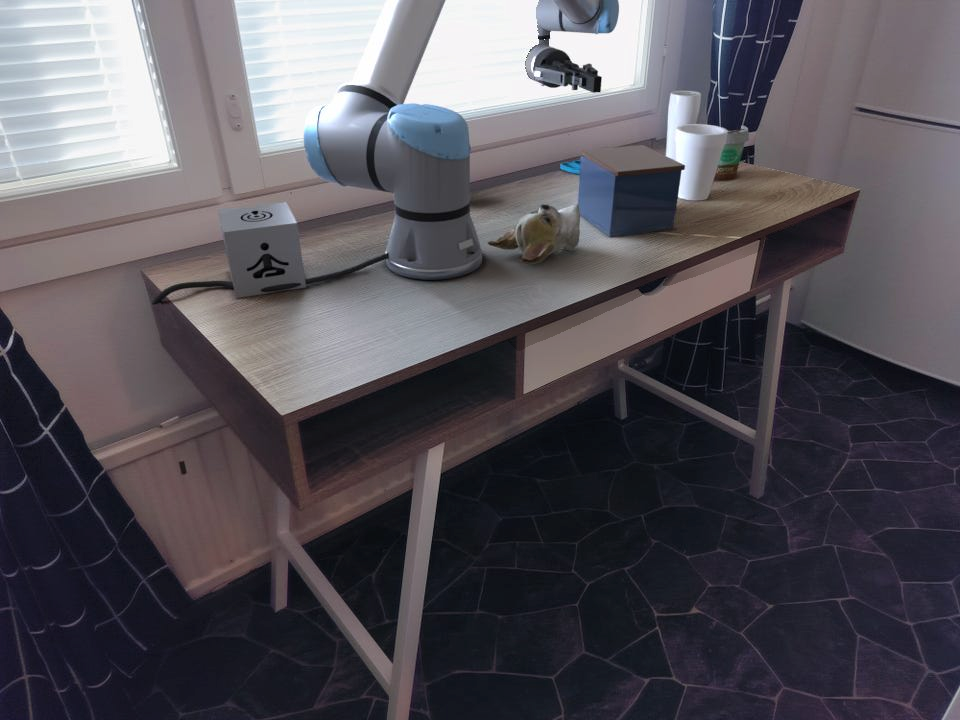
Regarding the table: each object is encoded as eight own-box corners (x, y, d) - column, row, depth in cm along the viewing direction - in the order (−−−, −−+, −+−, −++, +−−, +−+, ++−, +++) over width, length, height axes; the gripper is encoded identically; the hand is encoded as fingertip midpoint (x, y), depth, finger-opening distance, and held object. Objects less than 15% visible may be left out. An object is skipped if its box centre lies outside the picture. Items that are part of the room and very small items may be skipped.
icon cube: (229, 272, 111) (217, 210, 106) (294, 263, 114) (286, 202, 109) (236, 298, 103) (223, 232, 98) (306, 287, 106) (297, 222, 101)
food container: (706, 184, 150) (714, 136, 145) (689, 176, 155) (696, 129, 150) (754, 178, 154) (763, 130, 149) (735, 171, 159) (744, 124, 153)
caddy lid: (684, 169, 121) (685, 165, 120) (617, 176, 117) (618, 171, 117) (642, 149, 133) (643, 144, 132) (580, 154, 129) (581, 150, 129)
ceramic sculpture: (600, 203, 112) (522, 226, 105) (598, 254, 116) (523, 279, 110) (558, 186, 119) (483, 207, 113) (558, 235, 124) (486, 258, 117)
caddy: (673, 229, 127) (682, 168, 121) (609, 237, 124) (615, 175, 118) (636, 205, 138) (642, 149, 133) (576, 212, 135) (580, 155, 129)
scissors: (580, 159, 163) (643, 181, 149) (580, 163, 164) (642, 185, 149) (557, 163, 160) (619, 186, 146) (557, 167, 161) (618, 191, 146)
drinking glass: (689, 157, 169) (698, 90, 161) (693, 165, 163) (704, 96, 155) (660, 156, 169) (668, 90, 162) (663, 164, 163) (672, 95, 156)
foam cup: (721, 203, 139) (733, 135, 133) (673, 203, 139) (683, 135, 133) (709, 188, 147) (719, 124, 141) (664, 188, 148) (672, 123, 141)
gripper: (575, 83, 155) (627, 103, 136) (519, 86, 152) (563, 108, 132) (578, 46, 151) (631, 61, 132) (520, 48, 148) (566, 64, 129)
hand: (597, 84), depth 132 cm, fingers closed
